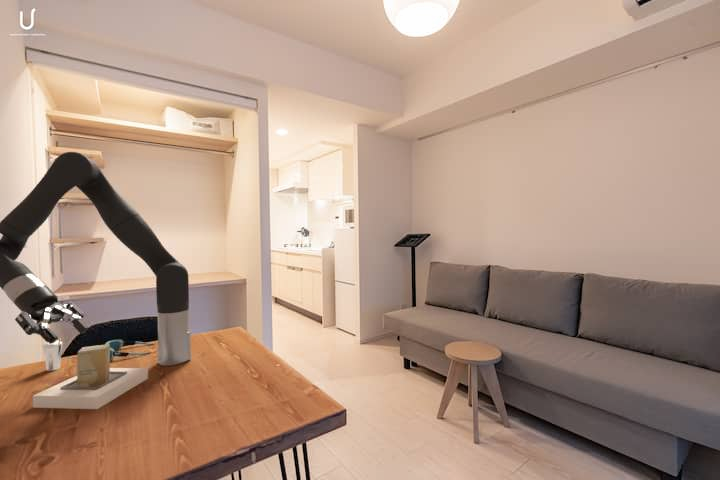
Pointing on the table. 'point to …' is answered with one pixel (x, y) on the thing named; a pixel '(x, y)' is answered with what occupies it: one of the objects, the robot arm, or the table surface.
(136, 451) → the table surface
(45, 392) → the socket plate
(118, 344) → the sunglasses
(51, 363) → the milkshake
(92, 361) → the skincare box
